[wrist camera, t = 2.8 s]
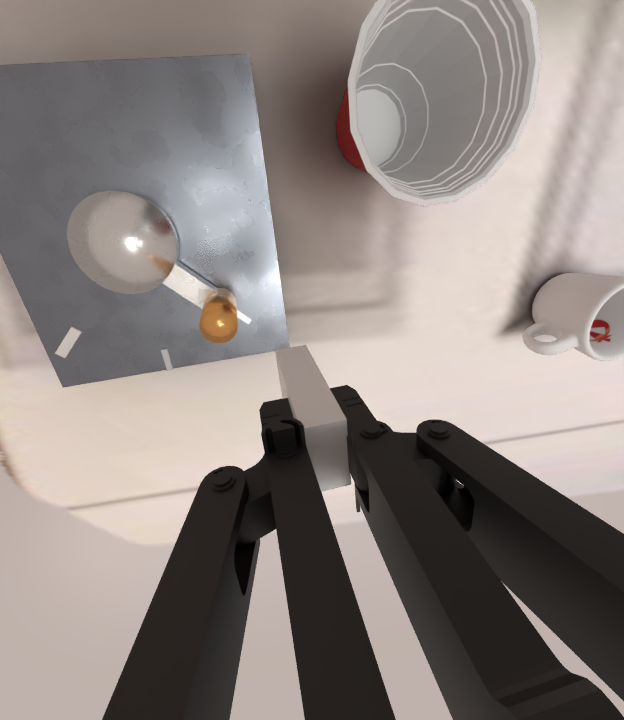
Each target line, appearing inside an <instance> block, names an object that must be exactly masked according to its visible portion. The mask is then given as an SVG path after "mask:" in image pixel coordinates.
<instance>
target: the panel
mask: <svg viewBox="0 0 624 720" xmlns="http://www.w3.org/2000/svg"><path fill="white" fill-rule="evenodd" d="M103 191H121V192H130V193H134V194H137V195H140V196H143V197H145V198H147V199H149V200H150V201H152V202H153V203H155V204H156V205H157V206H158V207H160V208H161V209H162V210H163V211H164V212H165V213H166V215H167V216H168V217H169V219H170V220H171V222H172V224H173V225H174V228H175V230H176V233H177V236H178V240H179V256H178V261H179V262H180V263H182V264H183V265H184V266H186V267H187V268H189V269H190V270H192V271H193V272H195V273H196V274H198V275H199V276H201V277H202V278H203V279H205V280H206V281H208V282H209V283H211V284H212V285H214V286H215V287H217V288H224V289H227V290H229V291H230V292H232V293H233V295H234V296H235V298H236V302H237V319H238V330H237V333H236V335H235V336H234V337H233V338H232V339H231V340H230V341H228V342H225V343H214V342H211V341H209V340H207V339H206V338H205V337H204V336H203V335H202V333H201V331H200V327H199V322H200V318H201V315H202V311H203V309H201V308H200V307H198V306H197V305H195V304H194V303H192V302H191V301H189V300H188V299H186V298H184V297H183V296H181V295H180V294H178V293H177V292H175V291H174V290H172V289H171V288H169V287H167V286H166V285H164V284H163V283H162V284H160V285H159V286H157V287H156V288H154V289H152V290H150V291H147V292H144V293H139V294H124V293H118V292H114V291H111V290H109V289H106V288H104V287H102V286H100V285H98V284H97V283H95V282H94V281H93V280H91V279H90V278H89V277H88V276H87V275H86V274H85V273H84V272H83V271H82V270H81V269H80V267H79V266H78V265H77V263H76V262H75V260H74V258H73V256H72V254H71V252H70V249H69V245H68V240H67V226H68V222H69V218H70V216H71V214H72V212H73V210H74V209H75V207H76V206H77V205H78V204H79V203H80V202H81V201H82V200H83V199H85V198H86V197H88V196H90V195H92V194H95V193H98V192H103ZM0 253H1V255H2V257H3V259H4V262H5V264H6V266H7V268H8V270H9V272H10V274H11V277H12V279H13V281H14V283H15V285H16V287H17V290H18V292H19V294H20V296H21V298H22V300H23V302H24V305H25V307H26V309H27V311H28V313H29V315H30V317H31V320H32V322H33V324H34V326H35V328H36V330H37V333H38V335H39V337H40V339H41V341H42V343H43V345H44V348H45V350H46V352H47V354H48V356H49V358H50V361H51V363H52V365H53V367H54V369H55V371H56V373H57V376H58V378H59V380H60V382H61V384H62V386H63V387H69V386H74V385H80V384H86V383H92V382H98V381H103V380H109V379H115V378H121V377H126V376H132V375H138V374H144V373H150V372H155V371H161V370H172V369H173V368H178V367H184V366H190V365H196V364H202V363H207V362H213V361H219V360H225V359H230V358H236V357H242V356H248V355H253V354H259V353H265V352H271V351H275V350H280V349H286V348H290V347H289V340H288V332H287V325H286V318H285V310H284V303H283V296H282V288H281V281H280V274H279V266H278V259H277V252H276V244H275V237H274V230H273V222H272V215H271V208H270V200H269V193H268V186H267V178H266V171H265V164H264V156H263V149H262V142H261V134H260V127H259V120H258V112H257V105H256V98H255V90H254V83H253V76H252V68H251V61H250V54H233V55H211V56H189V57H167V58H145V59H123V60H101V61H79V62H57V63H36V64H14V65H0Z"/></svg>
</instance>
